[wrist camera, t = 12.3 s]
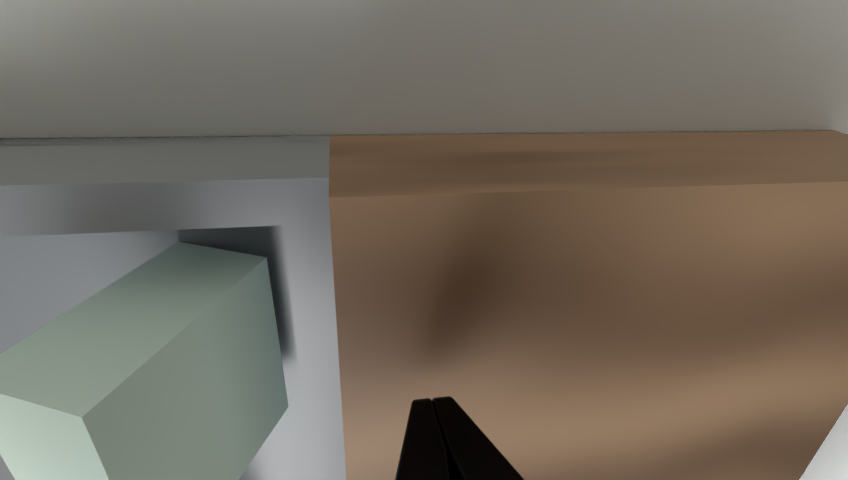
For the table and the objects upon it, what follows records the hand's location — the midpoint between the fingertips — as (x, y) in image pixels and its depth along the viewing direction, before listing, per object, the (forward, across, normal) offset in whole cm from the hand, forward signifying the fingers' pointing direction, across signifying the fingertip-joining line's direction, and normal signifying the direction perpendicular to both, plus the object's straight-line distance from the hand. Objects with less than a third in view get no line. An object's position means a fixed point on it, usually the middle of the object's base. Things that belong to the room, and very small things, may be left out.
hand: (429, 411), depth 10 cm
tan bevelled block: (+5, -6, +6) cm, 9 cm away
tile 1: (+1, +4, 0) cm, 5 cm away
